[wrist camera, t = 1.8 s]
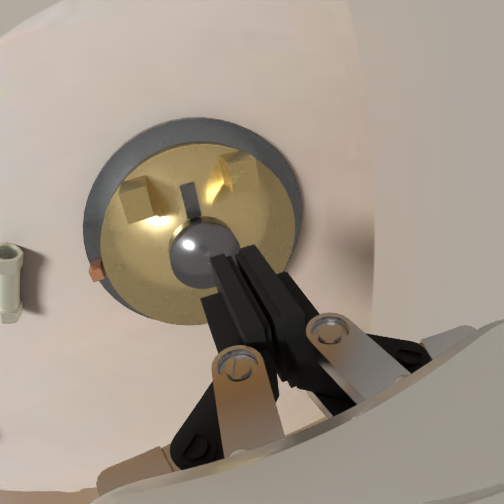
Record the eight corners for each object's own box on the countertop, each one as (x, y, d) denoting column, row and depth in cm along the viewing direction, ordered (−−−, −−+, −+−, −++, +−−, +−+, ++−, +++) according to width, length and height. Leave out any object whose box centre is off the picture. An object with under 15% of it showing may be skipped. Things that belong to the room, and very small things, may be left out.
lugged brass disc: (290, 281, 36) (311, 310, 31) (140, 328, 32) (143, 364, 28) (274, 123, 26) (303, 131, 22) (77, 174, 22) (62, 194, 18)
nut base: (325, 159, 31) (342, 167, 29) (252, 322, 39) (261, 339, 37) (116, 90, 22) (112, 89, 19) (76, 300, 29) (72, 319, 27)
